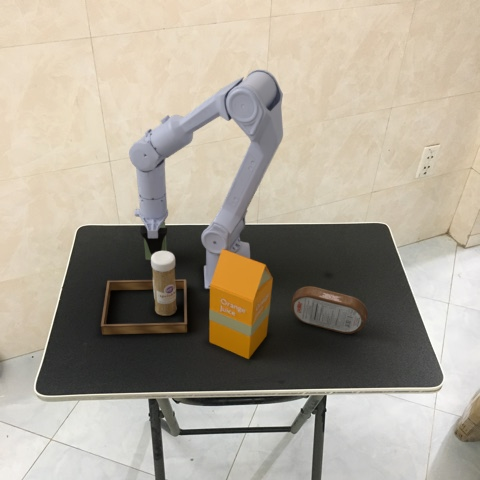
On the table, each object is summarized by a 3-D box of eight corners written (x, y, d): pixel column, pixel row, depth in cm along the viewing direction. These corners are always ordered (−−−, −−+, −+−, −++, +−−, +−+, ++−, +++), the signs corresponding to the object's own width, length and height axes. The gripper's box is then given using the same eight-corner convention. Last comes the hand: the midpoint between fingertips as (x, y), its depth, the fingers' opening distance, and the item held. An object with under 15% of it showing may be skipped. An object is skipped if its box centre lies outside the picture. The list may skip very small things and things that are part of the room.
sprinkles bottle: (165, 320, 111) (162, 267, 102) (150, 309, 113) (145, 256, 104) (181, 309, 113) (179, 256, 104) (166, 299, 116) (163, 246, 106)
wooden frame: (186, 287, 119) (186, 279, 117) (187, 332, 108) (187, 324, 107) (108, 289, 117) (107, 280, 116) (102, 334, 107) (100, 326, 105)
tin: (363, 330, 111) (371, 298, 105) (360, 340, 109) (369, 309, 103) (291, 311, 114) (296, 280, 109) (287, 321, 112) (292, 289, 106)
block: (166, 247, 126) (165, 221, 121) (166, 259, 123) (164, 233, 118) (146, 248, 126) (144, 222, 121) (145, 260, 122) (143, 233, 118)
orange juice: (248, 359, 104) (255, 276, 90) (208, 342, 107) (209, 259, 93) (267, 335, 109) (276, 252, 95) (228, 319, 112) (232, 237, 98)
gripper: (134, 175, 119) (139, 228, 128) (130, 211, 108) (136, 266, 117) (167, 175, 119) (170, 228, 128) (166, 211, 109) (169, 266, 118)
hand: (156, 246), depth 123 cm, fingers closed on block, 4 cm apart
